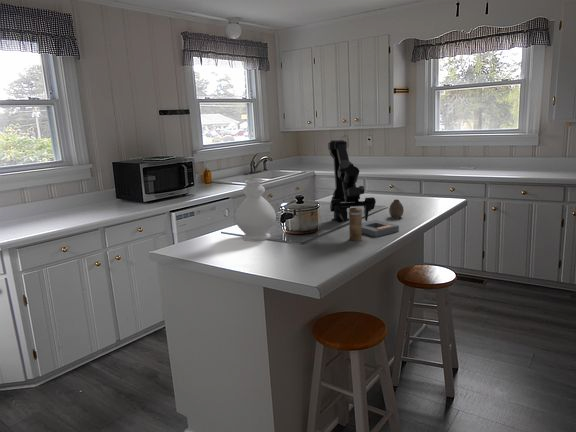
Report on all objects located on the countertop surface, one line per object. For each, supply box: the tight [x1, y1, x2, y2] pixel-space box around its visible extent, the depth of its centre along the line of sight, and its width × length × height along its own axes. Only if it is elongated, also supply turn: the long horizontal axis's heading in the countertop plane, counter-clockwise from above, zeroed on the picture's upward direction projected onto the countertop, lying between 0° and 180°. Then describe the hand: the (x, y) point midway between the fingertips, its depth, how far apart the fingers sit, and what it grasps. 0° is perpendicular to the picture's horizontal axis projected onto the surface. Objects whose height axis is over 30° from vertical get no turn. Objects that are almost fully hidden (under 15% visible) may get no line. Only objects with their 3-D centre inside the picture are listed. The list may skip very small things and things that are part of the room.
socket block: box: [362, 219, 400, 238], centre depth 205 cm, size 14×14×3 cm
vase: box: [388, 198, 404, 219], centre depth 228 cm, size 7×7×9 cm
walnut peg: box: [348, 207, 363, 242], centre depth 193 cm, size 5×5×13 cm
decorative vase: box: [234, 179, 277, 242], centre depth 201 cm, size 18×18×25 cm
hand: (355, 221), depth 192 cm, fingers open, 9 cm apart
